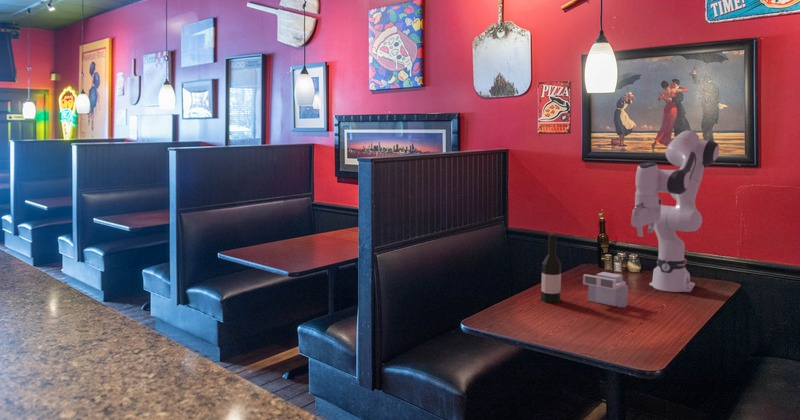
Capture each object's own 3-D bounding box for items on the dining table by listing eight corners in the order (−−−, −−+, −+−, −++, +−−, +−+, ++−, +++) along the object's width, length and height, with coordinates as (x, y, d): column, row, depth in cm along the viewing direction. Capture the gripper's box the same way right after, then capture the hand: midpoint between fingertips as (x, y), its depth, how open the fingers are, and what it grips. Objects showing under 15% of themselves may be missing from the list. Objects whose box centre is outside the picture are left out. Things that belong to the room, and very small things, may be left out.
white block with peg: (594, 297, 272) (595, 270, 270) (629, 304, 261) (630, 276, 259) (580, 303, 263) (581, 275, 261) (615, 311, 252) (616, 282, 250)
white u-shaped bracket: (594, 279, 268) (595, 270, 268) (625, 285, 259) (625, 275, 258) (583, 283, 261) (583, 274, 260) (614, 289, 251) (614, 280, 251)
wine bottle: (558, 298, 272) (560, 232, 268) (561, 303, 264) (563, 235, 260) (539, 297, 273) (541, 231, 269) (542, 302, 265) (543, 235, 261)
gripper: (642, 205, 243) (642, 239, 245) (663, 199, 257) (662, 231, 259) (627, 204, 248) (626, 237, 250) (649, 198, 262) (648, 230, 264)
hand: (645, 234), depth 255 cm, fingers open, 8 cm apart
